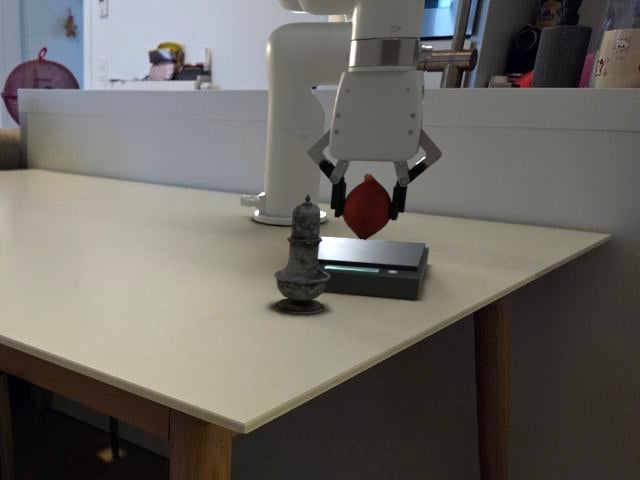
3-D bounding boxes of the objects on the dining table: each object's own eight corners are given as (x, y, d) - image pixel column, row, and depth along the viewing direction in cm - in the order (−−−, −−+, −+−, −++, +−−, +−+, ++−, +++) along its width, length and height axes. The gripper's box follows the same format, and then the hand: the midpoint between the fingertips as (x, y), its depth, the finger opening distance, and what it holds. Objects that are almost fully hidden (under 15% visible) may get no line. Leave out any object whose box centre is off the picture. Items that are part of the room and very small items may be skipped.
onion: (382, 235, 93) (390, 170, 90) (393, 244, 88) (401, 176, 85) (336, 235, 94) (342, 171, 91) (344, 244, 89) (350, 176, 86)
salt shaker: (265, 300, 81) (272, 191, 77) (317, 299, 82) (326, 189, 77) (280, 316, 76) (288, 199, 72) (335, 314, 76) (346, 197, 72)
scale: (283, 287, 87) (284, 263, 86) (312, 256, 102) (314, 235, 101) (417, 300, 81) (420, 273, 80) (426, 265, 96) (430, 242, 95)
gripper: (465, 56, 83) (442, 216, 90) (313, 60, 90) (302, 209, 96) (464, 54, 77) (439, 226, 84) (300, 59, 83) (290, 218, 90)
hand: (366, 215), depth 90 cm, fingers closed on onion, 5 cm apart
